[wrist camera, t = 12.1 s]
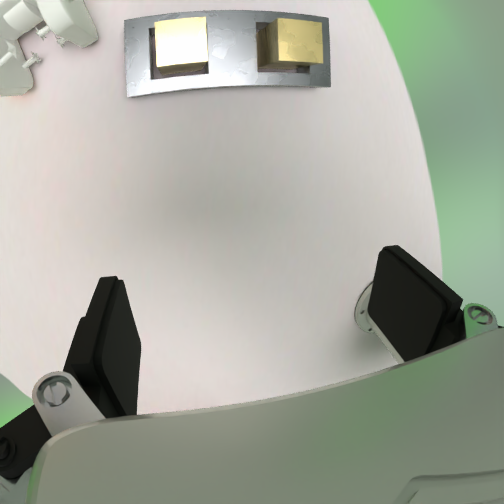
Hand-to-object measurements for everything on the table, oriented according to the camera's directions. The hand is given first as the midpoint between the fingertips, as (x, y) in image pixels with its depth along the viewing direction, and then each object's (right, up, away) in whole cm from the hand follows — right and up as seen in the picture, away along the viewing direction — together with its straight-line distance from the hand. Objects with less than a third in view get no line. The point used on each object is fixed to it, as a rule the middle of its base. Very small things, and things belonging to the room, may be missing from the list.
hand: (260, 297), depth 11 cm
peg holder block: (-3, +22, +16) cm, 28 cm away
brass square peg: (-8, +22, +16) cm, 28 cm away
